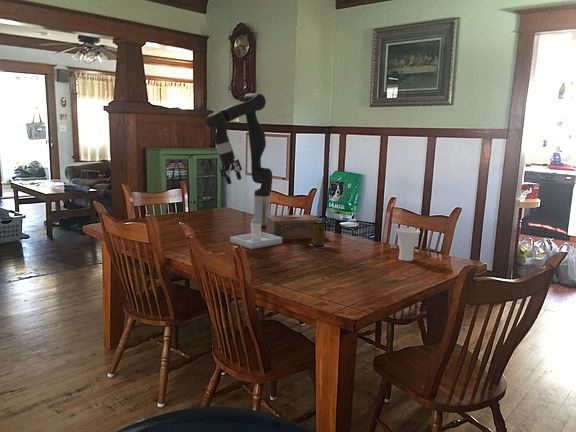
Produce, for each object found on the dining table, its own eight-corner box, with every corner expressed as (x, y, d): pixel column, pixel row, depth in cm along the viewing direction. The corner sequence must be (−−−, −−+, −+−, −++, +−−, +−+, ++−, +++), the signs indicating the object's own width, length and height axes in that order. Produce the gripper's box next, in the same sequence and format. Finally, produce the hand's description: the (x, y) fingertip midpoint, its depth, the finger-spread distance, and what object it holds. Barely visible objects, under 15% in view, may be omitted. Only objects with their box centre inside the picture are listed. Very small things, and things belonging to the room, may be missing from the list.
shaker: (256, 239, 249) (257, 218, 247) (263, 241, 245) (263, 219, 243) (248, 241, 246) (249, 219, 244) (255, 242, 242) (255, 220, 240)
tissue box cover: (310, 232, 276) (311, 214, 274) (320, 238, 263) (321, 219, 261) (266, 233, 268) (266, 215, 266) (273, 240, 255) (274, 220, 253)
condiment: (318, 243, 250) (319, 219, 248) (330, 246, 244) (331, 222, 242) (307, 245, 246) (308, 221, 244) (319, 248, 239) (320, 224, 237)
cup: (401, 262, 219) (403, 233, 216) (390, 256, 229) (392, 228, 226) (422, 262, 221) (424, 232, 219) (410, 255, 231) (412, 227, 229)
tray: (261, 237, 258) (261, 231, 257) (282, 243, 247) (282, 237, 246) (230, 242, 244) (230, 236, 244) (250, 249, 233) (250, 243, 233)
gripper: (222, 153, 246) (231, 184, 250) (239, 147, 258) (248, 177, 261) (211, 156, 251) (221, 186, 254) (228, 149, 262) (237, 179, 265)
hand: (234, 181), depth 258 cm, fingers open, 8 cm apart
